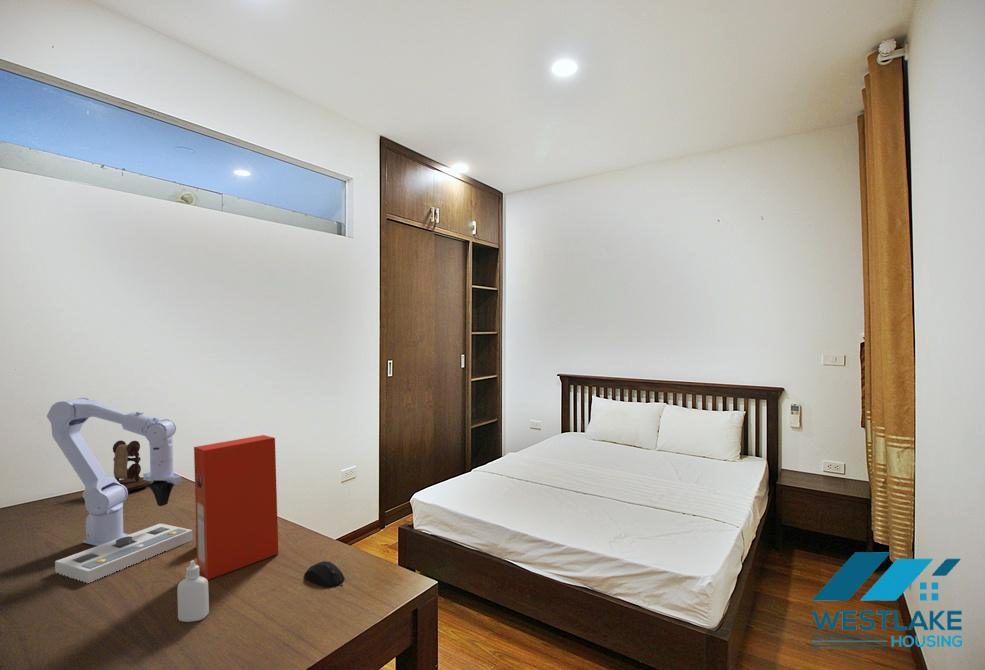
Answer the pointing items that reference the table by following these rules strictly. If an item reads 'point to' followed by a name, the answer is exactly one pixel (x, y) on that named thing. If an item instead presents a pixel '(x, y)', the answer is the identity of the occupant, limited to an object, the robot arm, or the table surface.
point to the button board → (122, 553)
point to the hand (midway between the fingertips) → (162, 504)
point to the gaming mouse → (324, 575)
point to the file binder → (235, 504)
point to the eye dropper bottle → (193, 595)
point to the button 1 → (85, 558)
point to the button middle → (123, 542)
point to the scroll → (121, 459)
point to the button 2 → (157, 531)
